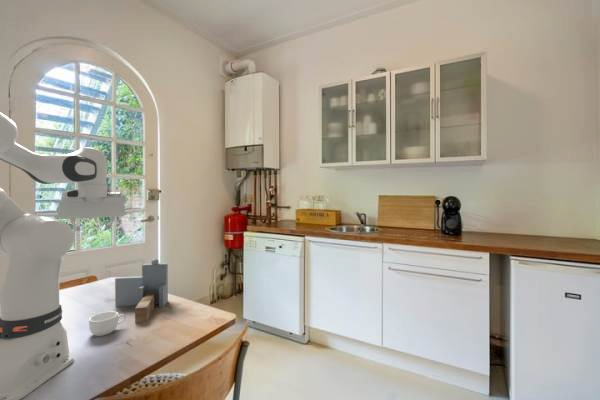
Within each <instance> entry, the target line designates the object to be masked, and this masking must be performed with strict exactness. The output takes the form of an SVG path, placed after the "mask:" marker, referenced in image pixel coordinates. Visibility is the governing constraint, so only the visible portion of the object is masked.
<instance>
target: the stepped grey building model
mask: <svg viewBox="0 0 600 400" xmlns="http://www.w3.org/2000/svg"><path fill="white" fill-rule="evenodd" d="M168 265H169V264H168V262H161V263H160V261H159V259H157V258H154V259H152V260H151V263H143V264H142V265H141V267H142V268H141V269H142V270H141V274H142V275H141V276H140V275H139V276H138V275H136V276H135V275H134V276H117V277H115V278H114V290H115V292H114V294H115V296H114V298H115V304H114V305H115V307H125V306H137V305H138V304H139V302H140V301H141V300H142V298H143V297H144V295H145V291H149V290H156V303H159V304H158V306H159V308H164V307H166V305H167V303H168V302H169V291H168V289H169V288H168V287H169V286H168V284H169V282H168V281H169V279H168V278H169V275H168V274H169V272H168V271H169V270H168Z"/></svg>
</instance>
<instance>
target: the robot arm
mask: <svg viewBox="0 0 600 400" xmlns="http://www.w3.org/2000/svg"><path fill="white" fill-rule="evenodd" d="M18 138H19V130H18V127H17V124H16V123H15V122H14V120H12V119H10V118H9V117H8V116H7V115H5V114H3V113H2V112H0V160H1V161H2V162H5V163H7V164H9V165H11V166H13V167H16V168H18V169H20V170H22V171H23V172H24V173H25V174H26V175H28V176H29V177H30V178H31V179H32V180H33V181H35V182H37V183H39V184H43V185H52V184H75V183H76V184H77V188H72V189H68V190H65V191H63V192H61V197H62V199H60V201H59V203H58V208H57V218H55V217H52V216H45V215H36V214H33V213H31V212H29V211H27V210H25V209H24V208H22V207H21V206H20V205H19V204H18V203H17V202H16V201H15V200H13V199H12V198H11V197H10V196H9V195H8V192H6V191H5V190H4V188H1V187H0V254H1V255H4V256H7V257H8V265H7V269H6V273H5V277H4V280H3V281H2V282H1V283H0V400H21V399H23V398H25V397H26V396H28V395H29V394H30V393H31V392H33V391H34V390H37V388H39V387H40V386H41V385H43V384H44V383H45V382H47V381H48V380H50V379H51V378H52V377H53V376H56V375H57V374H58V373H59V372H61V371H62V370H64V369H65V368H67V367H68V366H69V365H71V364H73V362H74V361H75V358H74V356H73V355H72V354H70V349H69V339H68V334H67V330H66V329H65V328H64V325H63V324H62V322H61V321H62V319H63V309H62V308H63V307H62V305H61V304H60V278H61V272H62V268H63V264H64V261H65V257H66V255H67V253H68V252H69V251H70V250H71V249H72V247H73V245H74V243H75V233H74V232H80V231H81V226H80V225H77V224H76V221H77V220H76V219H88V218H89V219H95V218H99V219H100V218H109V220H110V221H109V223H108V224H107V223H106V225H105V226H106V228H105V229H106V230H111V229H112V224H113V223H114V222H115V220H116V219H115V218H118V217H120V218H121V217H124V216H126V206H125V204H126V202H127V197H126V196H125V194H124V193H121V192H108V182H107V175H108V163H107V157H106V153H105V152H104V151H102V150H101V149H97V148H95V147H88V146H83V147H80V148H79V149H78V150H75V151H74V152H70V153H66V154H40V153H39V154H38V153H36V152H33V151H31V150H29V149H27V148H26V147H24V146H22V145H20V144H18V143H17V140H18ZM69 219H70V224H72V225H73V226H74V231H73V229H72V228H71V226H70V225H69V224H67V223H66V222H64V221H62V220H69Z"/></svg>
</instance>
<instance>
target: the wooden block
mask: <svg viewBox="0 0 600 400" xmlns="http://www.w3.org/2000/svg"><path fill="white" fill-rule="evenodd" d="M155 305H156V306H157V304H156V290H149V291H145V295H144V297H143V298H142V300H141V301H140V302H139V304H138V305H135V307H134V323H135V324H136V323H144V322H145V323H146V322H147V321H148V320H149V318H150V317H151V314H152V313H153V311H154V309H155V308H154V307H156V306H155Z"/></svg>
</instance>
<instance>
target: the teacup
mask: <svg viewBox="0 0 600 400" xmlns="http://www.w3.org/2000/svg"><path fill="white" fill-rule="evenodd" d="M122 316H123V319H122V320H120V318H121V317H122ZM119 320H120V321H119ZM125 320H126V314H125V313H124V314H123V313H121V314H119V312H118V311H114V310H113V311H112V310H110V311H103V312H99V313H96V314H93V315H91V316H90V317H89V318H88V325H89V331H90V333H91V334H92V335H93V336H96V337H104V336H108V335H109V334H111V333H112V332H114V331H115V330H116V328H117V326H118V325H120V324H121V323H123V322H124V321H125Z"/></svg>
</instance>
